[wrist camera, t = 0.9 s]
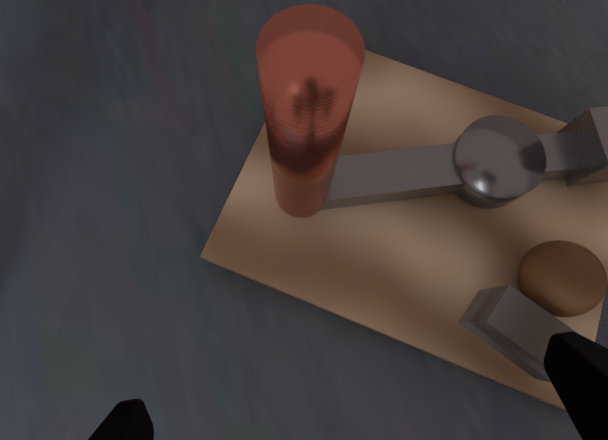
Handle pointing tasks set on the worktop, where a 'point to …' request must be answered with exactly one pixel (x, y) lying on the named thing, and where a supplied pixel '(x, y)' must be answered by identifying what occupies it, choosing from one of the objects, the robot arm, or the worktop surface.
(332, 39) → the lever
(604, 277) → the walnut
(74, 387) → the worktop surface
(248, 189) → the wooden board
